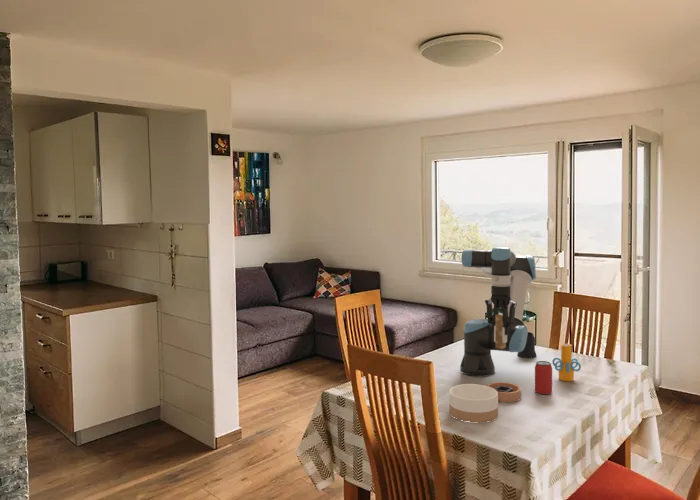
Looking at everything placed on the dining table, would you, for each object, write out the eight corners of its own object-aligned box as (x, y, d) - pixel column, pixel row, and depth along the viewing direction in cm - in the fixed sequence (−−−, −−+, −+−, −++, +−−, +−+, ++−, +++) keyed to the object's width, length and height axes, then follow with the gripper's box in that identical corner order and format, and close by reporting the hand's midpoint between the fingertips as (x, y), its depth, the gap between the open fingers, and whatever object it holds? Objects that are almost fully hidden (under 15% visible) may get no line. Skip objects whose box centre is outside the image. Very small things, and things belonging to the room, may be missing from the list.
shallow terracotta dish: (481, 397, 217) (481, 388, 217) (496, 388, 226) (496, 380, 226) (511, 404, 209) (511, 395, 208) (526, 395, 218) (526, 386, 218)
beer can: (543, 396, 217) (543, 366, 216) (531, 391, 222) (531, 362, 221) (555, 393, 220) (556, 363, 219) (543, 388, 226) (543, 359, 224)
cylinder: (582, 384, 229) (582, 349, 227) (555, 383, 231) (556, 348, 230) (576, 375, 241) (576, 341, 239) (551, 374, 243) (551, 340, 242)
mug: (536, 359, 266) (536, 336, 265) (516, 357, 270) (516, 334, 269) (537, 352, 277) (537, 330, 276) (518, 351, 281) (518, 329, 280)
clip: (494, 395, 217) (494, 388, 217) (500, 391, 221) (500, 385, 221) (506, 398, 214) (506, 391, 214) (512, 394, 218) (512, 388, 217)
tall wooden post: (495, 348, 228) (495, 314, 227) (499, 346, 230) (499, 313, 229) (502, 349, 226) (502, 315, 225) (505, 347, 228) (505, 314, 227)
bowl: (467, 426, 190) (467, 403, 189) (440, 410, 205) (440, 388, 205) (508, 418, 196) (508, 395, 196) (478, 402, 212) (478, 381, 211)
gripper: (478, 284, 229) (478, 340, 230) (515, 288, 218) (514, 346, 220) (487, 282, 234) (487, 337, 236) (523, 285, 223) (523, 343, 225)
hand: (500, 341), depth 228 cm, fingers closed on tall wooden post, 3 cm apart
